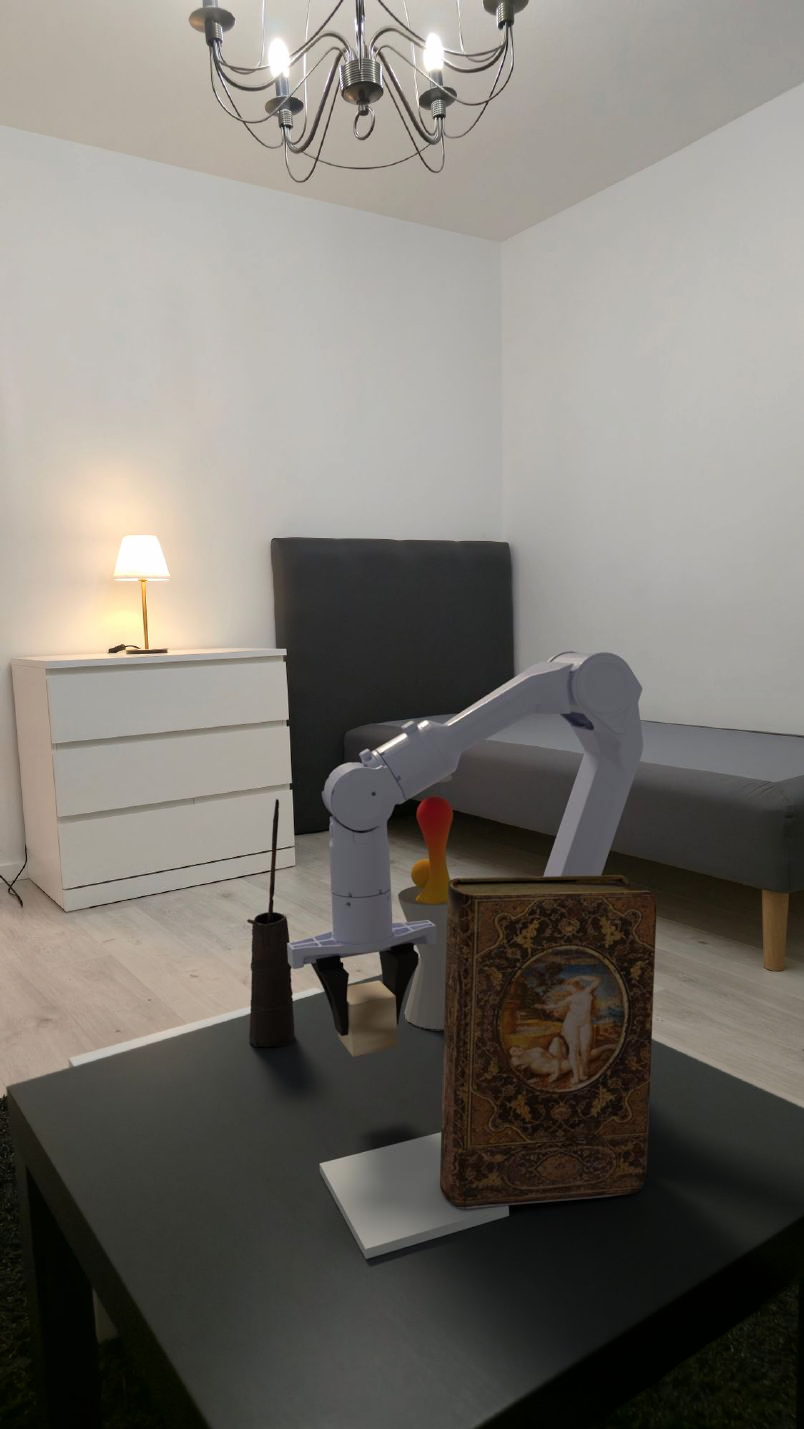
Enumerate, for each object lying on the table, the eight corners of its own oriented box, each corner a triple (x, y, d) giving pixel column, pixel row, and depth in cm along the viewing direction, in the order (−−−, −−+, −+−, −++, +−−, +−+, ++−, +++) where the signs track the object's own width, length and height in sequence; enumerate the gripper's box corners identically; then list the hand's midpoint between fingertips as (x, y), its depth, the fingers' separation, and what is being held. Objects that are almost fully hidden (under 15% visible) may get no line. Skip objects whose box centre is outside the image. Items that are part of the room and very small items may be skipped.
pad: (446, 1139, 83) (445, 1131, 83) (509, 1215, 72) (508, 1206, 72) (319, 1172, 78) (319, 1163, 78) (365, 1259, 67) (365, 1249, 67)
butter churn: (239, 1069, 98) (225, 813, 95) (214, 1036, 106) (201, 800, 104) (318, 1049, 102) (306, 803, 99) (288, 1018, 110) (277, 791, 108)
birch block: (381, 1028, 91) (379, 980, 91) (397, 1047, 87) (395, 996, 86) (338, 1037, 89) (336, 988, 89) (352, 1056, 85) (350, 1005, 85)
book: (448, 1210, 71) (457, 895, 69) (434, 1171, 76) (442, 878, 75) (645, 1194, 74) (658, 891, 72) (618, 1157, 79) (629, 874, 77)
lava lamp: (492, 1012, 110) (483, 725, 107) (443, 1038, 104) (432, 733, 100) (436, 993, 116) (427, 722, 113) (386, 1017, 110) (375, 729, 107)
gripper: (415, 869, 93) (419, 997, 94) (276, 889, 88) (283, 1024, 89) (443, 886, 86) (448, 1023, 88) (295, 908, 81) (302, 1054, 82)
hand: (367, 1026), depth 88 cm, fingers closed on birch block, 4 cm apart
